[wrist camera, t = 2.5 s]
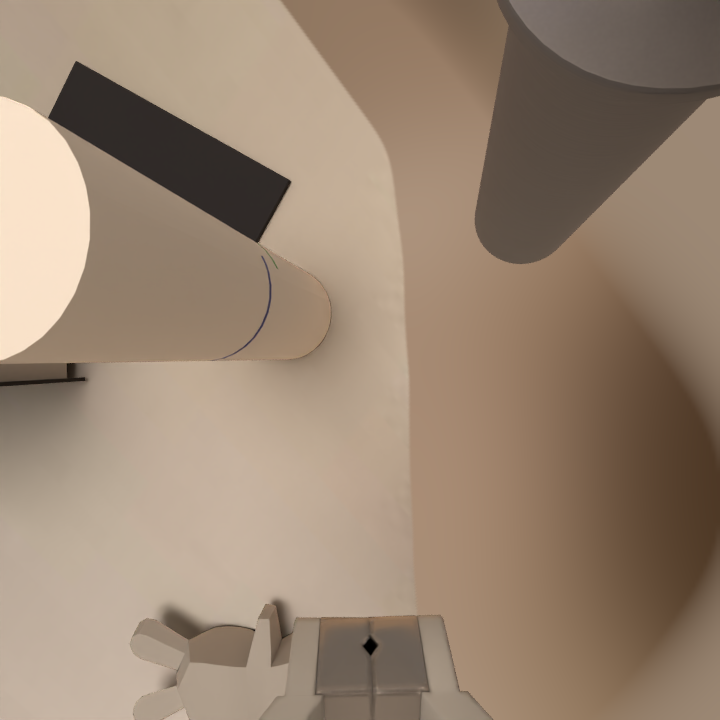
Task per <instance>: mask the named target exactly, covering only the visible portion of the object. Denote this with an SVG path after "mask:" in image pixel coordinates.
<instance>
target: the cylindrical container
mask: <svg viewBox="0 0 720 720" xmlns="http://www.w3.org/2000/svg"><path fill="white" fill-rule="evenodd" d="M330 320H331V306H330V301H329V298H328V295H327V293H326V291H325V289H324V288H323V286H322V285H321V284H320V283H319V281H318V280H317V279H316V278H314V277H313V276H311V275H310V274H309V273H307V272H305V271H304V270H302V269H300V268H298V267H297V266H295V265H293V264H292V263H290V262H288V261H287V260H285V259H283V258H282V257H280V256H278V255H276V254H275V253H273V252H271V251H270V250H268V249H266V248H265V247H263V246H261V245H260V244H258V243H256V242H255V241H253V240H251V239H250V238H248V237H246V236H244V235H243V234H241V233H239V232H238V231H236V230H234V229H233V228H231V227H229V226H228V225H226V224H224V223H223V222H221V221H219V220H218V219H216V218H214V217H213V216H211V215H209V214H208V213H206V212H204V211H203V210H201V209H199V208H198V207H196V206H194V205H193V204H191V203H189V202H188V201H186V200H184V199H183V198H181V197H179V196H178V195H176V194H174V193H172V192H171V191H169V190H167V189H166V188H164V187H162V186H161V185H159V184H157V183H156V182H154V181H152V180H151V179H149V178H147V177H146V176H144V175H142V174H141V173H139V172H137V171H136V170H134V169H132V168H131V167H129V166H127V165H126V164H124V163H122V162H121V161H119V160H117V159H116V158H114V157H112V156H111V155H109V154H107V153H106V152H104V151H102V150H101V149H99V148H97V147H96V146H94V145H92V144H90V143H89V142H87V141H85V140H84V139H82V138H80V137H79V136H77V135H75V134H74V133H72V132H70V131H69V130H67V129H65V128H64V127H62V126H60V125H59V124H57V123H55V122H54V121H52V120H50V119H49V118H47V117H45V116H44V115H42V114H40V113H39V112H37V111H35V110H34V109H32V108H30V107H28V106H26V105H23V104H21V103H19V102H16V101H14V100H11V99H9V98H5V97H0V364H27V363H97V362H161V361H222V360H287V359H296V358H300V357H302V356H305V355H307V354H308V353H310V352H312V351H313V350H314V349H315V348H316V347H317V346H318V345H319V344H320V343H321V342H322V340H323V339H324V337H325V336H326V333H327V331H328V329H329V325H330Z"/></svg>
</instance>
